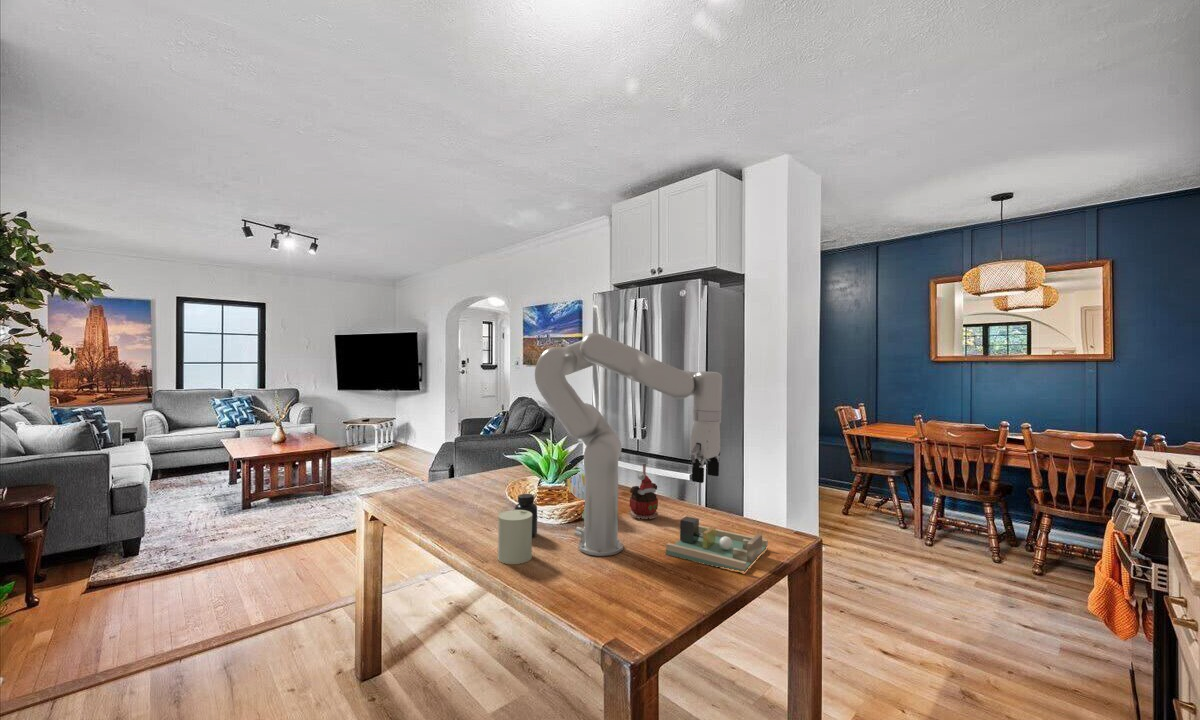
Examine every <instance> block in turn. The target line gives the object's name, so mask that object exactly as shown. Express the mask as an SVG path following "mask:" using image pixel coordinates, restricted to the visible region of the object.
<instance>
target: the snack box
mask: <svg viewBox="0 0 1200 720" xmlns="http://www.w3.org/2000/svg"><path fill="white" fill-rule="evenodd" d="M578 463H579V465H578V466H577V467H578V468H582V469H581V471H580V472H578V473H577V474H576V475H573V476H571V477H570V478H569V479H568V481H566V486H567V485H568V487H569V489H570V492H571V493H572V494H573V495H574V496H575V497H577V498H580V499H583V500H585V474H584V470H583V469H584V463H583V464H582V463H581V462H578ZM569 464H570V463H568V464H567V466H568V465H569ZM584 509H585V507H584ZM581 518H582V519H583V520H584V511H583V514H582V517H581Z"/></svg>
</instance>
